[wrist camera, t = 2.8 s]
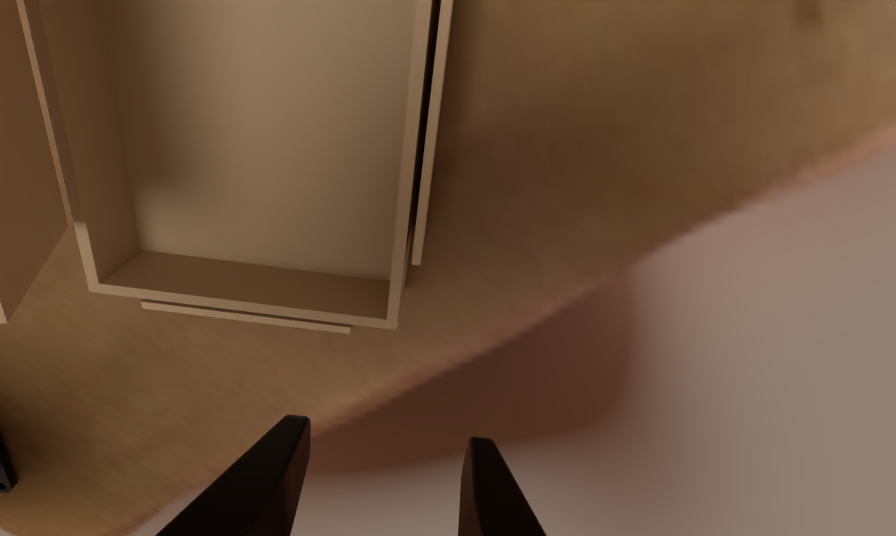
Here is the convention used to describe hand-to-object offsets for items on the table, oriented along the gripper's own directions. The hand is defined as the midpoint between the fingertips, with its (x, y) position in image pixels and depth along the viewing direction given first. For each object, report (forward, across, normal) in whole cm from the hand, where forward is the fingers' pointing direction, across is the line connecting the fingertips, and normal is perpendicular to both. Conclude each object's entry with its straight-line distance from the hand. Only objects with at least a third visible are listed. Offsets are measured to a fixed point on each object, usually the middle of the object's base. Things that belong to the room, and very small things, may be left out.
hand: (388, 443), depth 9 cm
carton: (+12, +6, -3) cm, 14 cm away
